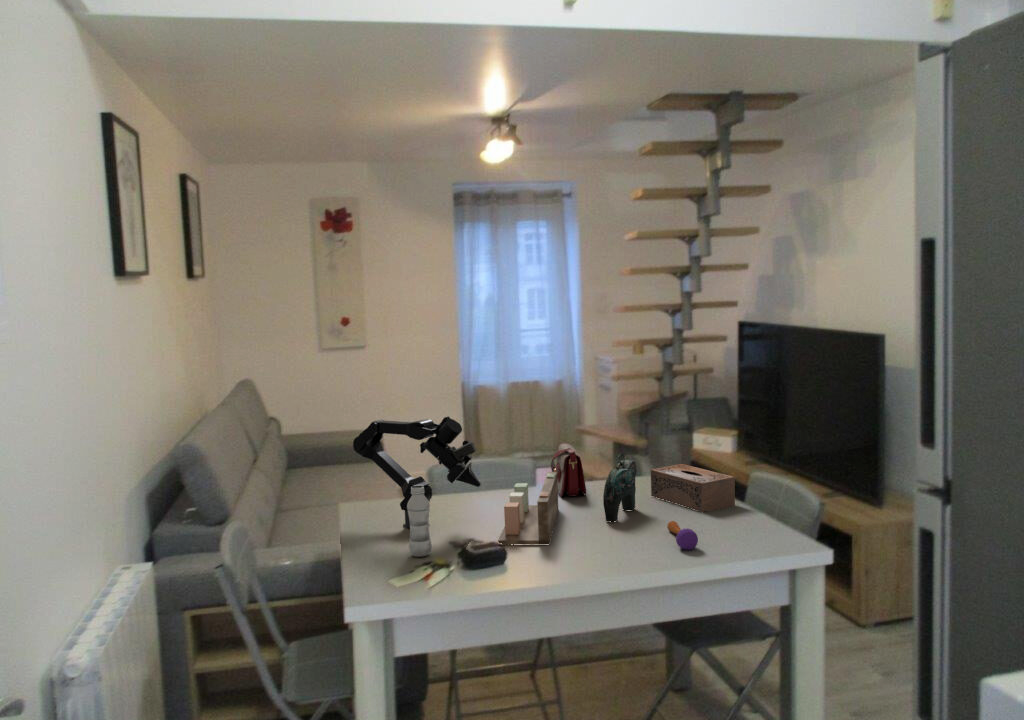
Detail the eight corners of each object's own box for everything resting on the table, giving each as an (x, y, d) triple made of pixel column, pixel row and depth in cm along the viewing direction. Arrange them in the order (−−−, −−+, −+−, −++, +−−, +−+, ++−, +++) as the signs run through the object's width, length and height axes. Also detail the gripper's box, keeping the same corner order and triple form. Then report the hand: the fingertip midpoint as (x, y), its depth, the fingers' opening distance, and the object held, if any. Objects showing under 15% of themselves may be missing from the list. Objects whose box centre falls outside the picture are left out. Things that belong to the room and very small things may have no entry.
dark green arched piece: (624, 506, 270) (623, 448, 269) (642, 508, 267) (641, 449, 265) (600, 522, 253) (598, 460, 252) (619, 524, 250) (617, 461, 248)
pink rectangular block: (505, 534, 239) (504, 506, 238) (507, 529, 243) (506, 502, 242) (518, 534, 238) (517, 506, 237) (520, 529, 243) (519, 502, 242)
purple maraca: (683, 518, 242) (701, 532, 222) (680, 537, 242) (698, 554, 222) (664, 515, 241) (680, 529, 221) (661, 534, 241) (677, 551, 221)
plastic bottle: (420, 550, 233) (417, 483, 231) (437, 554, 228) (433, 485, 227) (404, 556, 228) (400, 487, 226) (420, 561, 223) (417, 490, 222)
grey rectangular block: (510, 522, 250) (509, 496, 250) (512, 518, 255) (511, 492, 254) (523, 522, 250) (522, 496, 249) (524, 518, 254) (523, 492, 254)
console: (498, 545, 234) (496, 500, 233) (514, 509, 272) (512, 470, 271) (549, 545, 232) (547, 500, 231) (558, 509, 270) (557, 470, 269)
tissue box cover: (651, 497, 282) (650, 469, 281) (682, 491, 289) (681, 463, 288) (702, 513, 259) (701, 483, 259) (734, 506, 266) (734, 476, 266)
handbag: (550, 481, 310) (548, 437, 309) (577, 480, 311) (575, 436, 309) (558, 500, 282) (556, 451, 281) (587, 498, 283) (586, 450, 281)
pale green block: (515, 512, 262) (514, 486, 262) (516, 508, 267) (515, 483, 266) (527, 512, 262) (526, 486, 261) (528, 508, 266) (527, 483, 266)
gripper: (455, 438, 240) (494, 473, 239) (464, 428, 258) (499, 461, 258) (431, 465, 241) (469, 500, 241) (441, 453, 259) (477, 485, 259)
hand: (479, 485), depth 250 cm, fingers closed
